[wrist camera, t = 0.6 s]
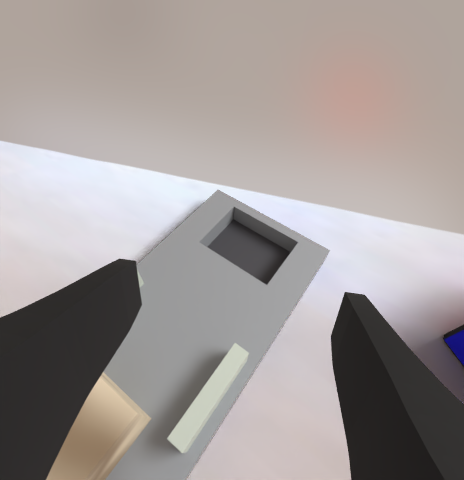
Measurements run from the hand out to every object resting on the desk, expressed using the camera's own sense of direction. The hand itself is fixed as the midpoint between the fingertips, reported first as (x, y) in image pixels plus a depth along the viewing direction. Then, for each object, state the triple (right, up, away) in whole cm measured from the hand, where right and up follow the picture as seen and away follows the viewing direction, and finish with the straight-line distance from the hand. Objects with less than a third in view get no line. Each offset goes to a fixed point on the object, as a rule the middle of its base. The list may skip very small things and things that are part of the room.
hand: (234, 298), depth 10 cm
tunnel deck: (-4, -6, +16) cm, 18 cm away
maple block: (-10, -11, +9) cm, 17 cm away
